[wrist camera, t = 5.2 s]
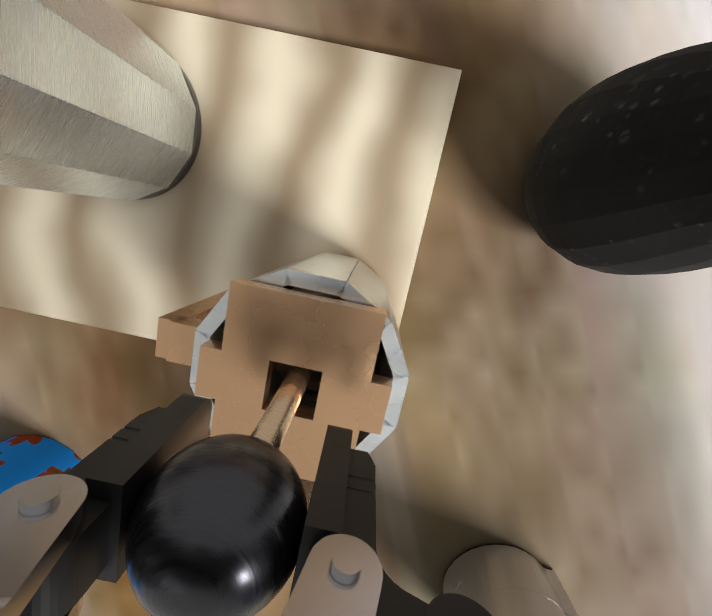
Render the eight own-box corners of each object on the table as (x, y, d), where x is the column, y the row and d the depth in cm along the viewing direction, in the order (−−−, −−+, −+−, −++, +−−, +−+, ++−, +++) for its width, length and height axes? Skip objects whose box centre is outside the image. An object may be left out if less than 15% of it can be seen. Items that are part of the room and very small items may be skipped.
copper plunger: (385, 294, 20) (418, 482, 5) (362, 395, 21) (333, 780, 6) (275, 270, 20) (-16, 388, 5) (259, 373, 21) (-8, 703, 6)
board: (456, 80, 24) (461, 70, 22) (383, 381, 28) (384, 389, 27) (3, -16, 24) (-21, -32, 22) (6, 299, 29) (-14, 303, 27)
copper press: (403, 267, 25) (433, 304, 12) (377, 378, 27) (379, 511, 14) (253, 235, 25) (128, 239, 12) (237, 348, 27) (114, 453, 14)
